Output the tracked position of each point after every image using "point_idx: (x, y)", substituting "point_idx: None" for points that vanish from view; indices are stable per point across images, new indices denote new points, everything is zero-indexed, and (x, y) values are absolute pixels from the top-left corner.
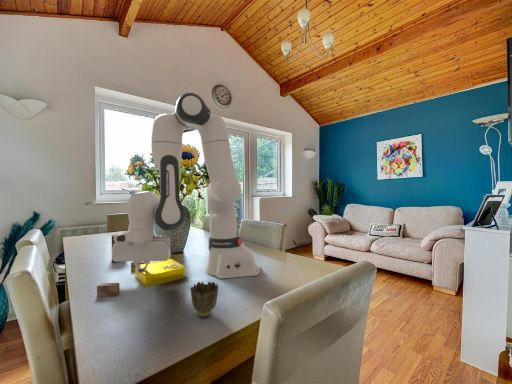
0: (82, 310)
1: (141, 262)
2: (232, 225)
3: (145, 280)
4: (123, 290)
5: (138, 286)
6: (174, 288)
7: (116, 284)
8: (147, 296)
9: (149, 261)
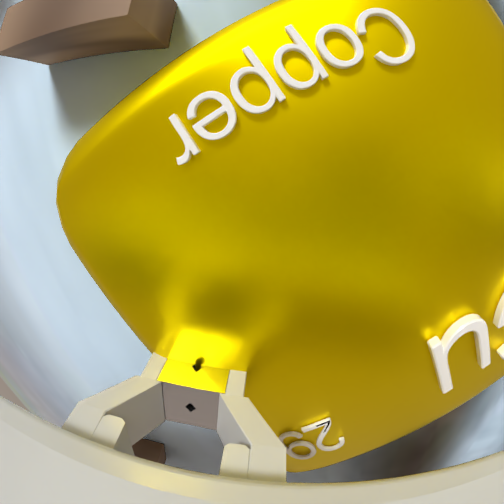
0: None
1: (78, 22)
2: None
3: None
4: (162, 423)
5: None
6: (429, 429)
7: None
8: (307, 478)
9: (280, 477)
